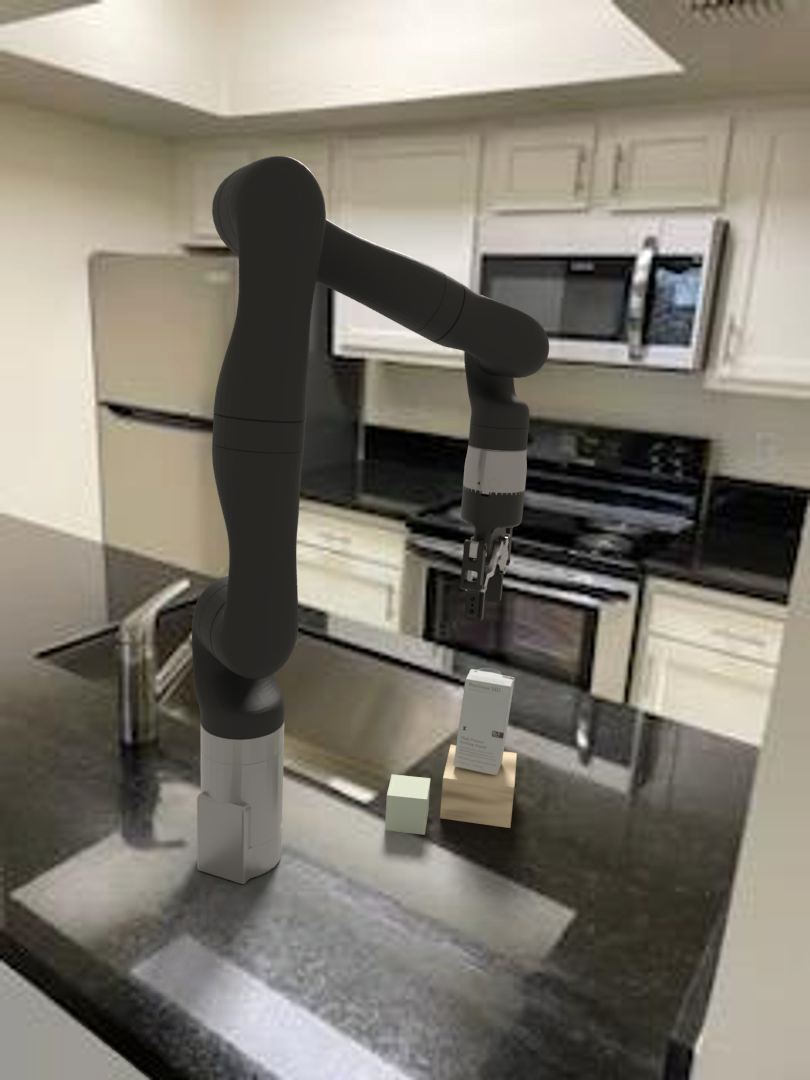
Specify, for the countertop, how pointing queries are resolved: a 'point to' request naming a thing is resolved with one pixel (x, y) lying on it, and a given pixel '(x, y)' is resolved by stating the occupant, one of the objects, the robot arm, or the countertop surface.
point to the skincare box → (483, 721)
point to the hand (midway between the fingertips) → (483, 610)
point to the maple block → (478, 793)
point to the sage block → (407, 804)
